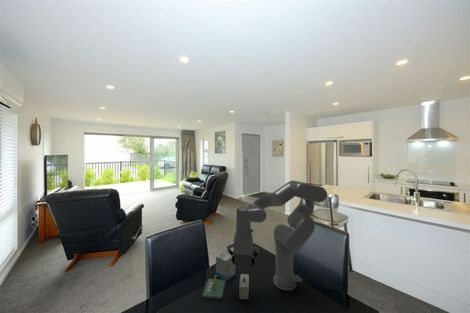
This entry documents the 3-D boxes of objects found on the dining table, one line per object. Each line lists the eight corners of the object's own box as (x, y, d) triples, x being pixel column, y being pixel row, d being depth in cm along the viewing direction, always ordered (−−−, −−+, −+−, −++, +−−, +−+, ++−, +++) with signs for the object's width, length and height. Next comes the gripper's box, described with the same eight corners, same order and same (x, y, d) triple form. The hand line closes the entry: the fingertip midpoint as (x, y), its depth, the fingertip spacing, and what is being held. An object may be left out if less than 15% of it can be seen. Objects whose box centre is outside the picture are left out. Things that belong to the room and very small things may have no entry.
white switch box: (248, 285, 94) (248, 273, 94) (248, 299, 84) (248, 286, 84) (240, 284, 94) (240, 272, 94) (239, 298, 85) (239, 285, 85)
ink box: (226, 282, 97) (226, 258, 97) (215, 275, 102) (215, 253, 102) (235, 273, 103) (235, 251, 104) (225, 268, 109) (224, 247, 109)
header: (225, 282, 97) (225, 272, 97) (221, 299, 85) (221, 288, 85) (208, 280, 98) (208, 270, 98) (202, 297, 86) (201, 286, 86)
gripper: (259, 229, 92) (259, 261, 92) (228, 227, 94) (227, 258, 94) (260, 235, 85) (259, 270, 85) (225, 233, 87) (225, 267, 87)
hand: (243, 264), depth 89 cm, fingers open, 9 cm apart
